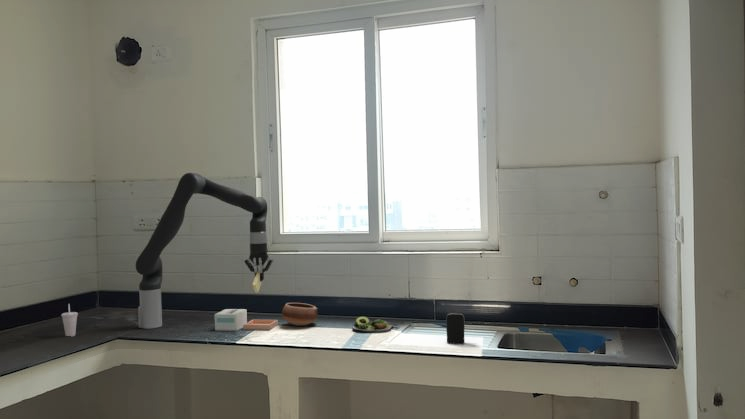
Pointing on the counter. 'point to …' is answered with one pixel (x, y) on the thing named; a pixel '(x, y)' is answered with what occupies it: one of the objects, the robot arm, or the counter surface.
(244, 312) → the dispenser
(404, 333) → the counter surface
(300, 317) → the bowl
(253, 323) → the dish
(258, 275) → the pale yellow flat piece
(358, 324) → the salad plate
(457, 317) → the battery
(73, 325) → the smoothie
